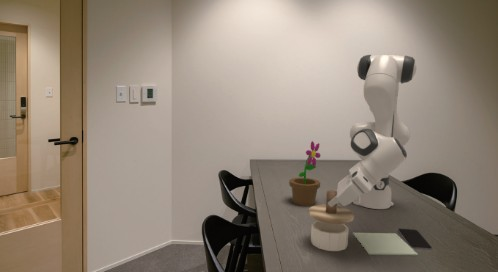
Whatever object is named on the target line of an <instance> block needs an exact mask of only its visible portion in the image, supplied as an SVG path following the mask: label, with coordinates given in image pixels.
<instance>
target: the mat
mask: <svg viewBox="0 0 498 272" xmlns="http://www.w3.org/2000/svg"><path fill="white" fill-rule="evenodd" d="M352 235H353V236H354V237H355V238H357V239H356V240H357V242H358V243H361V244H360V245H361V246H362V248H363V247H364V248H363V249H364V250H365V252H366V253H367V254H368V255H372V256H373V255H374V256H375V255H376V256H417V257H418V255H419V254H418V252H416V251H415V250H414V248H411V247H410V246H409V245H408V244H407V242H406V241H405V240H404V239H403V238H402V237H400V236H399V235H398V234H397V233H393V232H386V233H385V232H352Z"/></svg>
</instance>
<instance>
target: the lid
mask: <svg viewBox="0 0 498 272" xmlns="http://www.w3.org/2000/svg"><path fill="white" fill-rule="evenodd" d="M336 195H337V191H336V190H327V191H326V201H325V204H317V205H315V204H314V205H311V206H309V208H308V216H310V217H311V218H312V219H314V220H315V221H322V222H326V223H334V224H342V223H343V224H347V223H350V222H352V221H354V220H355V213H354V212H353V211H352V210H350V209H348V208H347V207H345V206H343V207H342V206H340V205H338V203H337V204H335V205H334V206H332V207H330V206H329V205H328V202H329V201H330V200H331V199H333V198H334V197H335V196H336Z"/></svg>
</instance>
